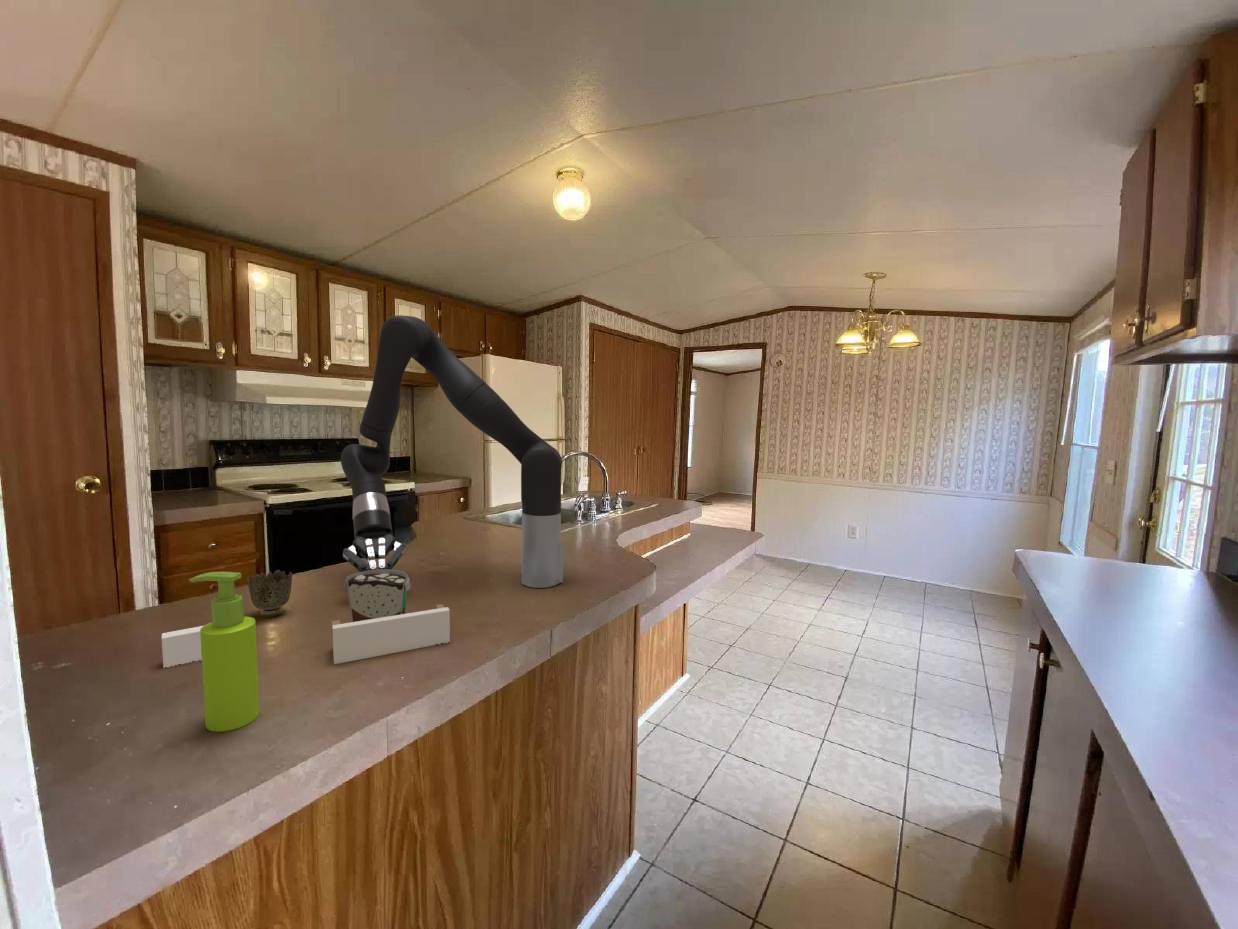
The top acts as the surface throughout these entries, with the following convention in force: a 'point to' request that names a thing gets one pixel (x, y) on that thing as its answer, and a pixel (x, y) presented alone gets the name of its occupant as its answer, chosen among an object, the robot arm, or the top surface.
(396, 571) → the food container
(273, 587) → the cup
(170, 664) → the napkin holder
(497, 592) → the top surface
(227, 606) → the soap dispenser
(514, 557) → the top surface
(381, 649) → the back stop bracket
